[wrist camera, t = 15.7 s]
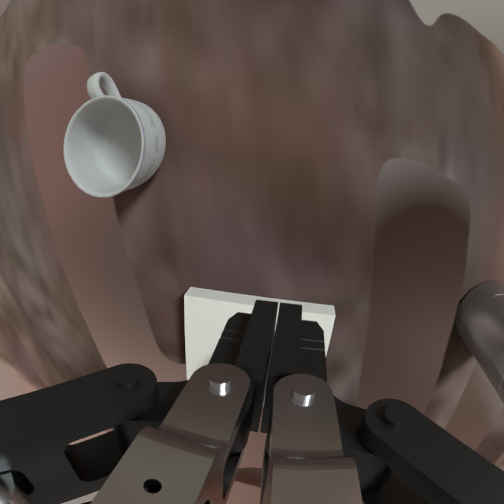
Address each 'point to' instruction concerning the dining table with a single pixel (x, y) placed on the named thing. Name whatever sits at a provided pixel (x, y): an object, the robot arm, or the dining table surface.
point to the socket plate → (220, 310)
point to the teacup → (112, 141)
